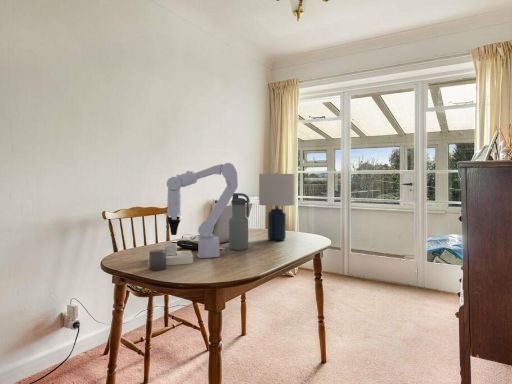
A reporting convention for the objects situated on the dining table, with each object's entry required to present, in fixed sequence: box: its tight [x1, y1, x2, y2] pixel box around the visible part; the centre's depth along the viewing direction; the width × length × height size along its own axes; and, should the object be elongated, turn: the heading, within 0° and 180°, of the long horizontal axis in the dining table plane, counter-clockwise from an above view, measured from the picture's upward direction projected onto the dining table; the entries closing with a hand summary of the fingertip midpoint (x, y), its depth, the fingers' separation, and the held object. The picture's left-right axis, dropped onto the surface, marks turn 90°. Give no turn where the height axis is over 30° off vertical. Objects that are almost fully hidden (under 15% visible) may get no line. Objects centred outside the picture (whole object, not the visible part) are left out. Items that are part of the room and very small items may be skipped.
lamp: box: [258, 172, 296, 242], centre depth 196 cm, size 20×20×39 cm
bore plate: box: [147, 250, 194, 267], centre depth 145 cm, size 18×12×3 cm, turn 105°
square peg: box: [164, 243, 177, 256], centre depth 145 cm, size 4×4×7 cm
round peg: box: [148, 249, 167, 272], centre depth 133 cm, size 6×6×7 cm
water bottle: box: [228, 192, 250, 251], centre depth 172 cm, size 10×10×28 cm
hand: (173, 233), depth 154 cm, fingers open, 7 cm apart
